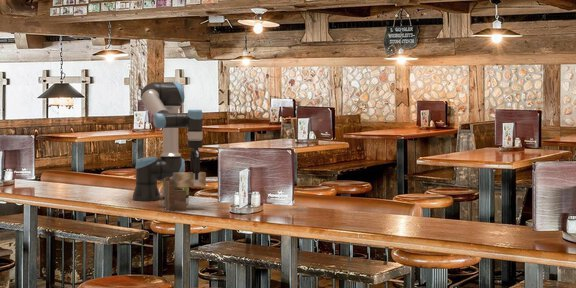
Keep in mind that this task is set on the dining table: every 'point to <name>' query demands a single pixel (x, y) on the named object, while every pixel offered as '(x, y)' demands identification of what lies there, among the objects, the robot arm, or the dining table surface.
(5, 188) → the dining table surface
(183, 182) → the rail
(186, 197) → the tea box
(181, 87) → the robot arm
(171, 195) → the brown box
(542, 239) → the dining table surface
